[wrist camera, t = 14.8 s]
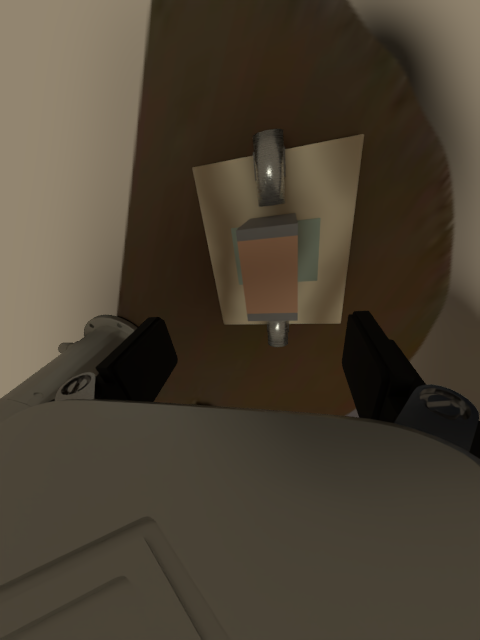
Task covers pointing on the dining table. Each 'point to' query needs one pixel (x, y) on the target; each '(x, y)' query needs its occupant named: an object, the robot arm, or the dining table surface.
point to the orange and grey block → (270, 267)
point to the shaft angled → (277, 333)
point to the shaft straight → (269, 167)
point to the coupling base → (300, 197)
